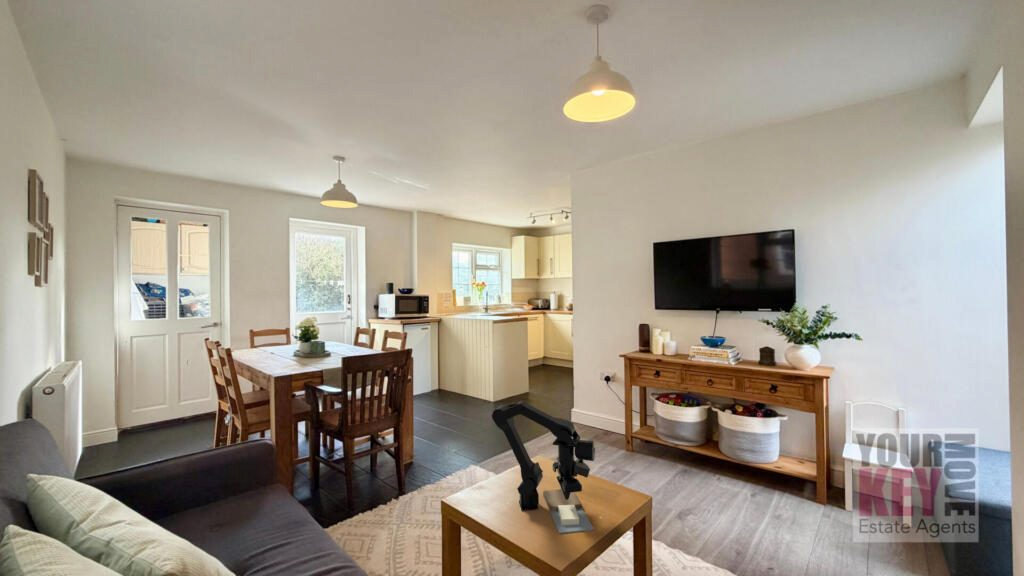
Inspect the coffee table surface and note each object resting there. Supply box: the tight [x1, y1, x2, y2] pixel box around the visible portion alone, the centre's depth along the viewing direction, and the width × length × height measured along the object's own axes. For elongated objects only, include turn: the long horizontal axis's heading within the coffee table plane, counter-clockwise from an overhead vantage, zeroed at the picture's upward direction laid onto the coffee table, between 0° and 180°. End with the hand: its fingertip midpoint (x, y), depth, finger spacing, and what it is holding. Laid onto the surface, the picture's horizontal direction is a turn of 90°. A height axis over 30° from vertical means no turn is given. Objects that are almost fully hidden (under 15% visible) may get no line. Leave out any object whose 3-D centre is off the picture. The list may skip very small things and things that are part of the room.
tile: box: [558, 505, 579, 525], centre depth 150 cm, size 6×9×2 cm, turn 2°
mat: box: [549, 508, 594, 535], centre depth 148 cm, size 12×13×1 cm
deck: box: [542, 488, 583, 512], centre depth 161 cm, size 12×12×2 cm
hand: (566, 499), depth 154 cm, fingers closed
